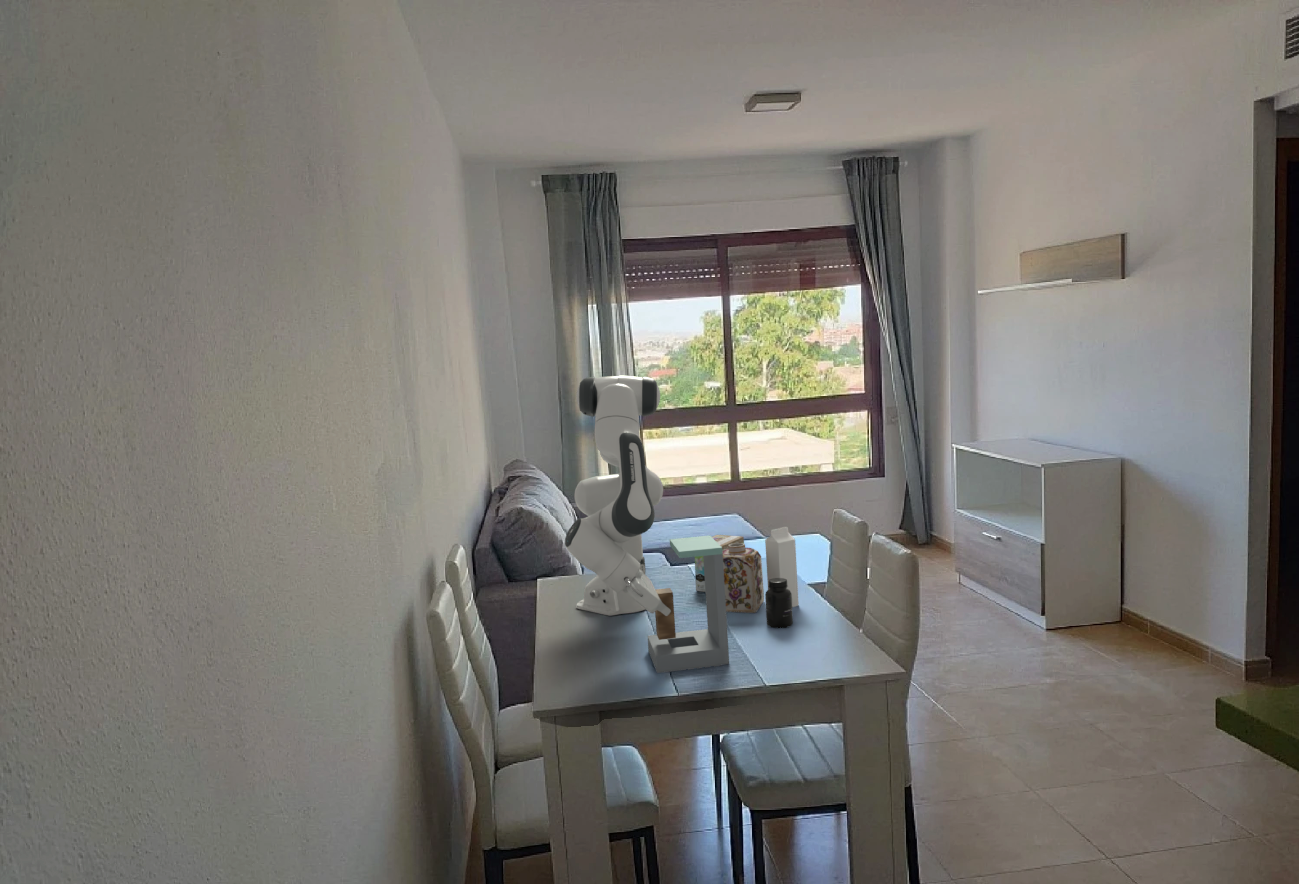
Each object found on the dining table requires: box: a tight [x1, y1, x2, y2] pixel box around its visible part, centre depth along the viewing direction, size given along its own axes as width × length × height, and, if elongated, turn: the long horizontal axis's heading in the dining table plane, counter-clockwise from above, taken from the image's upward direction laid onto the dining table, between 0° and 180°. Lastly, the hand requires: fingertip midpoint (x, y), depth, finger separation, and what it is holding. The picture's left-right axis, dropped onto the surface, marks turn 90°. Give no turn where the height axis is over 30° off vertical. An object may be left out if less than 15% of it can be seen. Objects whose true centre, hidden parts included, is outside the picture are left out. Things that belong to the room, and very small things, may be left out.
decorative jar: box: [722, 542, 765, 614], centre depth 247 cm, size 12×12×18 cm
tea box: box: [694, 534, 745, 593], centre depth 269 cm, size 15×10×15 cm, turn 148°
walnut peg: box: [654, 587, 677, 640], centre depth 208 cm, size 4×4×11 cm
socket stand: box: [647, 535, 730, 674], centre depth 208 cm, size 17×15×28 cm
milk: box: [764, 526, 800, 608], centre depth 245 cm, size 6×6×22 cm
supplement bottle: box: [764, 578, 794, 629], centre depth 229 cm, size 7×7×12 cm
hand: (667, 609), depth 208 cm, fingers closed on walnut peg, 4 cm apart
